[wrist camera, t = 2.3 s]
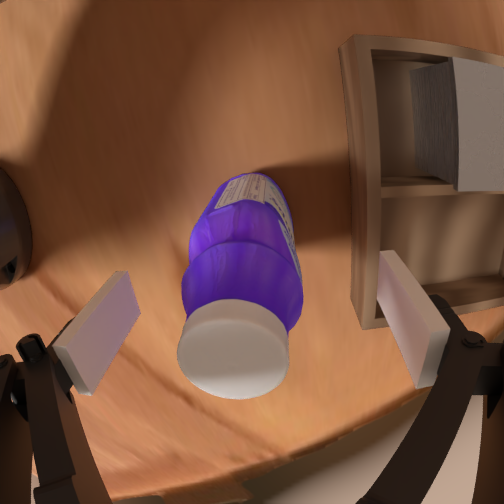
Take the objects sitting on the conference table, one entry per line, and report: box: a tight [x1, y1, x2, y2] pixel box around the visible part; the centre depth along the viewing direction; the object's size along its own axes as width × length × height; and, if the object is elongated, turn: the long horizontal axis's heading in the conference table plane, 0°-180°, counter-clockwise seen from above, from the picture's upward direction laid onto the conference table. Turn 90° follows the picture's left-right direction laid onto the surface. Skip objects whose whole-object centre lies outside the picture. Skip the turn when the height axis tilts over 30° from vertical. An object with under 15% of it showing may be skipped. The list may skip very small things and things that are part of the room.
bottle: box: [177, 173, 303, 399], centre depth 19 cm, size 7×6×17 cm
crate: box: [338, 34, 504, 330], centre depth 22 cm, size 18×22×5 cm
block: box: [409, 57, 504, 192], centre depth 18 cm, size 7×8×7 cm
